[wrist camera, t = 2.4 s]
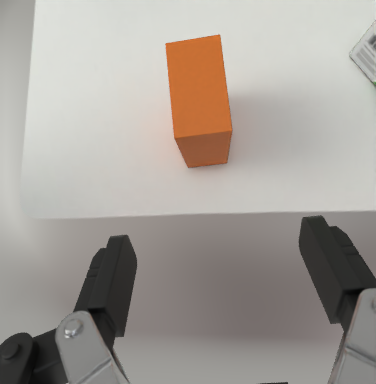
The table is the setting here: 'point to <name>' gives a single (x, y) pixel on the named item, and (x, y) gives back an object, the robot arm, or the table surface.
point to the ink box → (366, 53)
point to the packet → (199, 100)
